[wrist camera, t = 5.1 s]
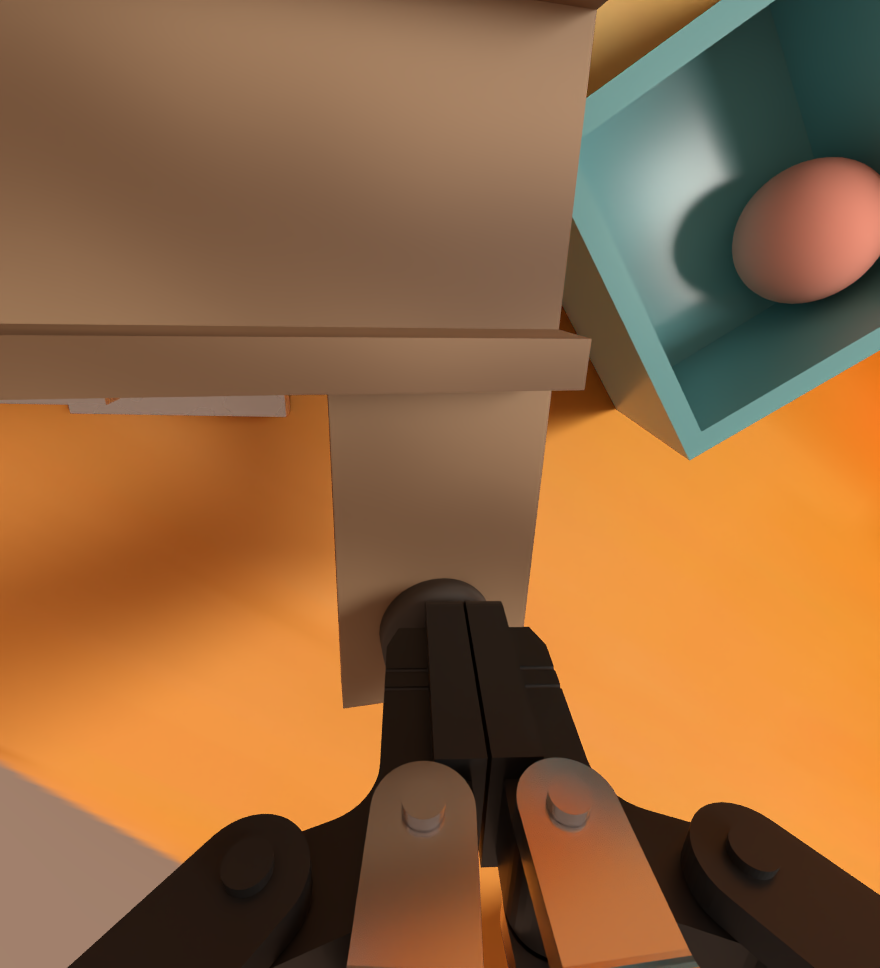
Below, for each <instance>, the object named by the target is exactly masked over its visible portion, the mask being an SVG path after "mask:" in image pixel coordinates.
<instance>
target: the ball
mask: <svg viewBox="0 0 880 968" xmlns="http://www.w3.org/2000/svg"><path fill="white" fill-rule="evenodd" d="M732 256H733V262H734V266H735V269H736V271H737V273H738V275H739V277H740V278H741V280H742V281H743V282H744V284H745V285H746V286H747V287H748V288H749V289H750V290H752V291H753V292H754V293H756V294H757V295H759V296H761V297H763V298H765V299H768V300H771V301H775V302H779V303H787V304H799V303H807V302H813V301H817V300H820V299H824V298H826V297H829V296H831V295H834V294H836V293H838V292H839V291H841V290H843V289H845V288H847V287H848V286H850V285H851V284H852V283H854V282H855V281H856V280H858V279H859V278H860V277H861V276H862V275H863V274H865V273H866V272H867V270H868V269H869V268H870V267H871V266H872V265H873V264H874V263H875V261H876V260H877V259H878V257H879V256H880V175H879V174H878V173H877V172H876V171H875V170H873V169H872V168H871V167H869V166H867V165H866V164H864V163H862V162H859V161H856V160H853V159H849V158H843V157H823V158H816V159H812V160H808V161H805V162H801V163H799V164H796V165H794V166H792V167H790V168H788V169H786V170H784V171H782V172H780V173H779V174H777V175H776V176H774V177H773V178H771V179H770V180H769V181H768V182H767V183H765V184H764V185H763V186H762V187H761V188H760V189H759V190H758V191H757V192H756V193H755V194H754V195H753V197H752V198H751V199H750V200H749V202H748V203H747V205H746V206H745V208H744V209H743V211H742V213H741V215H740V217H739V219H738V222H737V224H736V227H735V230H734V235H733V241H732Z"/></svg>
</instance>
